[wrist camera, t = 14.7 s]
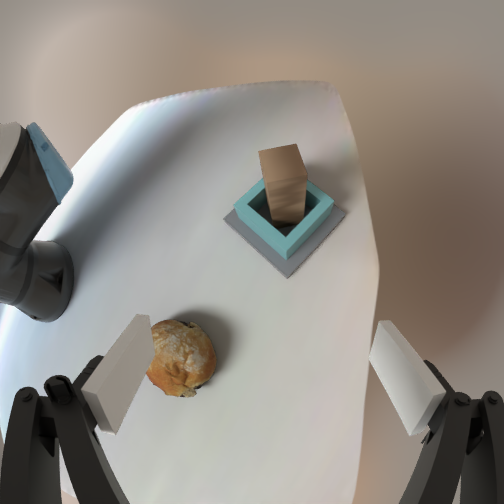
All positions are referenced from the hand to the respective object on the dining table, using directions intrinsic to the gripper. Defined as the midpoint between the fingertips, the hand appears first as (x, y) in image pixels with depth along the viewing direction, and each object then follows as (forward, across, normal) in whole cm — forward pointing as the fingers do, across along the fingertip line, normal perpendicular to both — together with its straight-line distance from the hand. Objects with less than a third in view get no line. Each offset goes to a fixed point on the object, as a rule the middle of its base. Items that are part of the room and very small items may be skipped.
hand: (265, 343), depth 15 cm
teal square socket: (+25, +4, +3) cm, 26 cm away
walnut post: (+25, +3, +4) cm, 25 cm away
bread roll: (+17, -10, -15) cm, 24 cm away
